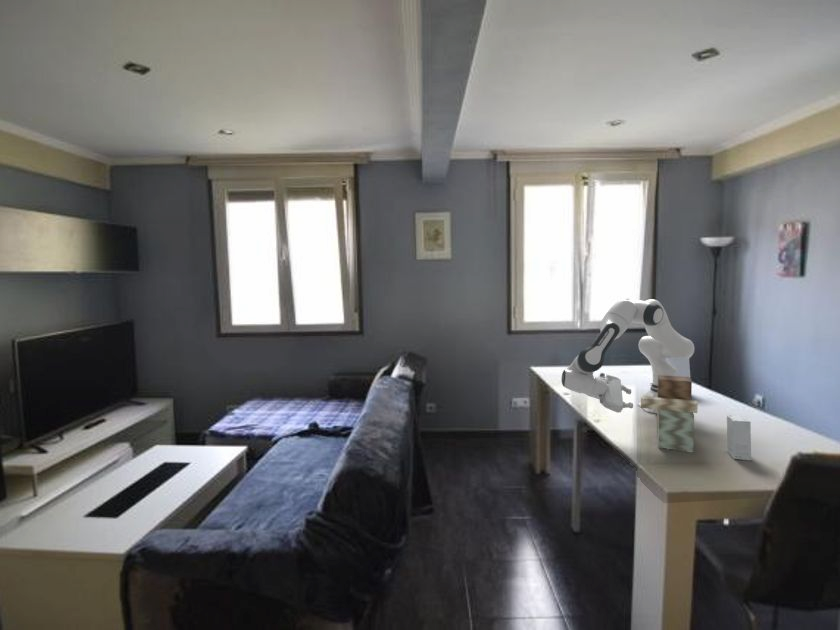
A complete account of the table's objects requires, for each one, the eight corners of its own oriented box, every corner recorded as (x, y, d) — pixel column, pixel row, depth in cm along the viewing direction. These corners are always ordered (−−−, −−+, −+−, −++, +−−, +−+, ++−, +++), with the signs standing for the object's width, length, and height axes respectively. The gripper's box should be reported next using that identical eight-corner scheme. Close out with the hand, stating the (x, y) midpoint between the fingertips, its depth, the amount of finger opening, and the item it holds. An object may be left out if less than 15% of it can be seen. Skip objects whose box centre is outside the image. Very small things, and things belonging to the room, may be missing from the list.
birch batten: (640, 407, 181) (640, 398, 181) (640, 405, 185) (640, 396, 184) (697, 413, 172) (697, 403, 172) (696, 410, 176) (696, 400, 175)
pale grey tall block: (694, 396, 249) (695, 348, 247) (667, 397, 249) (668, 349, 247) (679, 390, 264) (680, 344, 262) (654, 390, 264) (654, 345, 262)
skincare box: (751, 461, 161) (752, 422, 160) (732, 459, 164) (733, 420, 163) (743, 452, 169) (745, 415, 168) (725, 451, 171) (726, 414, 170)
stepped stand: (658, 448, 176) (659, 385, 174) (656, 432, 194) (657, 375, 192) (693, 452, 171) (694, 387, 169) (688, 436, 188) (689, 377, 186)
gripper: (602, 398, 179) (637, 409, 177) (601, 369, 196) (632, 379, 193) (596, 409, 183) (630, 420, 180) (596, 380, 200) (627, 389, 197)
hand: (631, 399), depth 187 cm, fingers open, 8 cm apart
